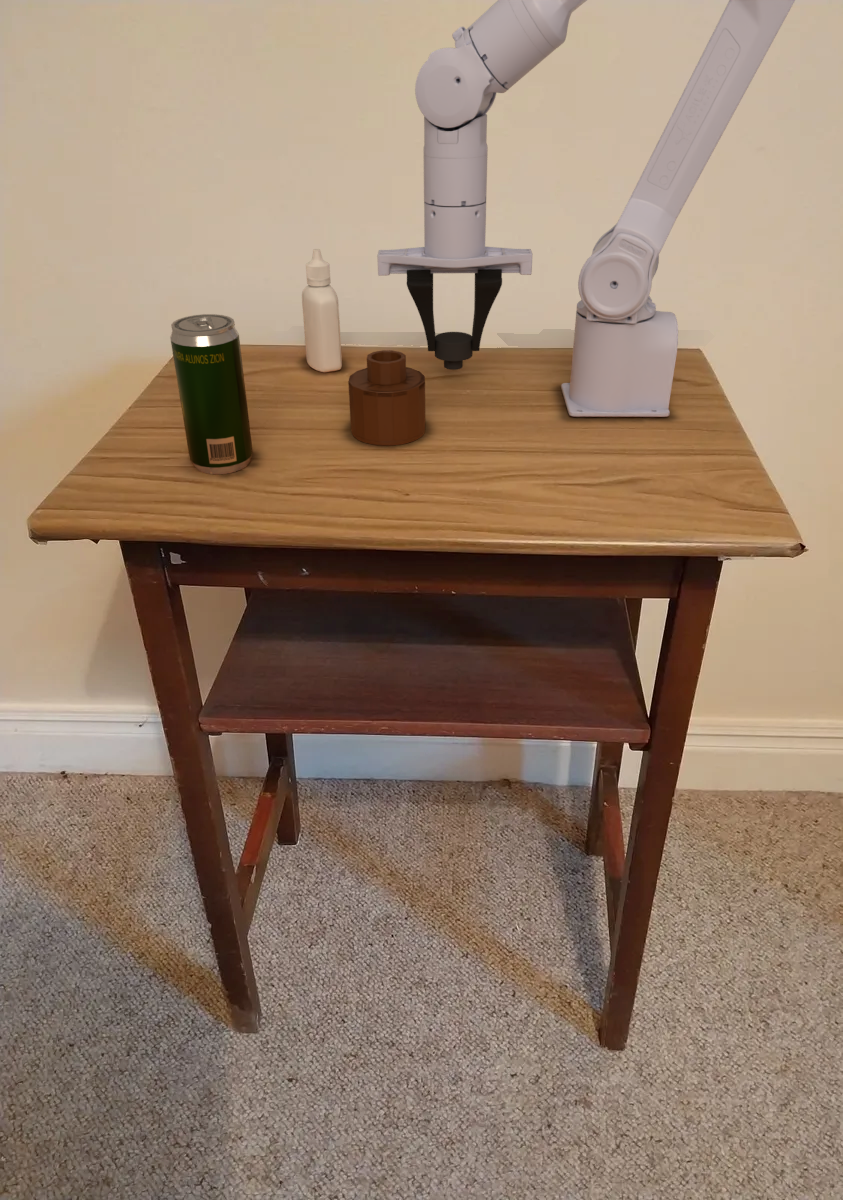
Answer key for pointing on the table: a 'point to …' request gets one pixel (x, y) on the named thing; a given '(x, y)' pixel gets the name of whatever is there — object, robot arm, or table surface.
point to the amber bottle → (387, 400)
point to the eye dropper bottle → (321, 317)
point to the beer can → (212, 392)
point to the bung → (453, 349)
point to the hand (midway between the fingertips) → (453, 348)
